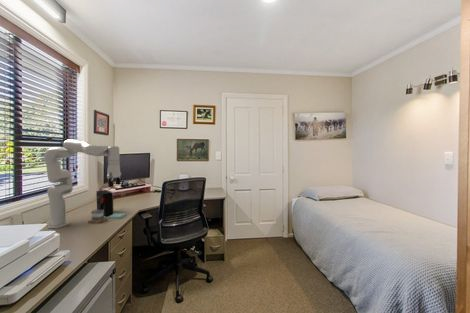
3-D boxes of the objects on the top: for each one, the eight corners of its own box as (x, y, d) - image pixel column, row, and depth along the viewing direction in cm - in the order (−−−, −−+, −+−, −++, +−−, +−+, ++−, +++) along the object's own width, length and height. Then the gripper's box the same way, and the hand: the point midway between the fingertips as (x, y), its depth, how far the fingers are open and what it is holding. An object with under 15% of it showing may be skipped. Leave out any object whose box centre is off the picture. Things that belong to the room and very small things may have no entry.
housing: (91, 219, 184) (91, 211, 184) (95, 217, 189) (95, 209, 189) (100, 219, 184) (100, 211, 184) (104, 217, 189) (103, 209, 189)
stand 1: (87, 223, 182) (87, 220, 182) (96, 219, 192) (96, 216, 192) (100, 223, 181) (100, 220, 181) (107, 219, 191) (107, 217, 191)
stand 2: (108, 219, 192) (108, 216, 192) (115, 215, 202) (115, 213, 202) (120, 219, 192) (120, 216, 192) (126, 215, 202) (126, 213, 202)
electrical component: (115, 214, 205) (114, 192, 204) (102, 217, 197) (102, 194, 196) (108, 210, 217) (107, 189, 216) (96, 213, 209) (95, 191, 208)
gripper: (115, 161, 181) (116, 183, 182) (101, 163, 164) (102, 187, 165) (124, 161, 181) (125, 183, 182) (112, 163, 164) (112, 187, 164)
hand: (114, 185), depth 173 cm, fingers open, 9 cm apart
